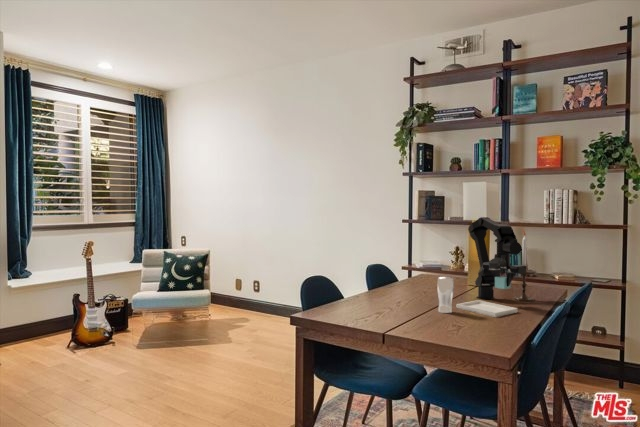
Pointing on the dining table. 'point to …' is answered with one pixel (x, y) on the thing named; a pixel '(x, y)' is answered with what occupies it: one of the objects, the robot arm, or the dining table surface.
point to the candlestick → (524, 273)
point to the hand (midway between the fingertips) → (502, 285)
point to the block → (501, 282)
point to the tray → (487, 308)
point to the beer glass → (445, 294)
